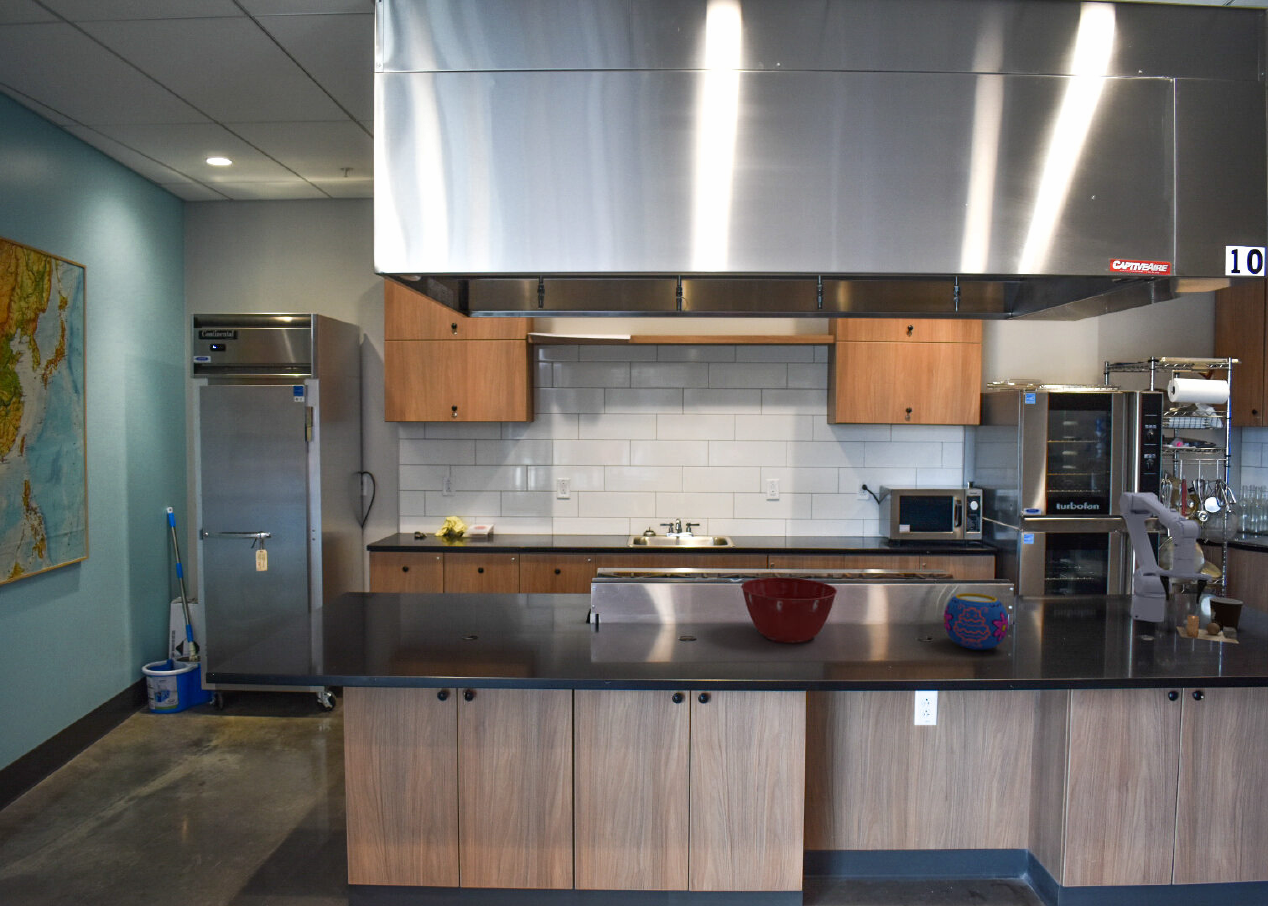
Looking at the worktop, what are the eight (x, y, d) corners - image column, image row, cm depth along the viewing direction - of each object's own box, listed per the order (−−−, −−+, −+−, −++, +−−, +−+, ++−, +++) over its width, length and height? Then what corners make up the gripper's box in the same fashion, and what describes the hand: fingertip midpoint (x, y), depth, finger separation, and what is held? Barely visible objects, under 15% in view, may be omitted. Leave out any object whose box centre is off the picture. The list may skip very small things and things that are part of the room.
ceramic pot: (1010, 645, 243) (1012, 595, 243) (1003, 660, 228) (1005, 607, 227) (948, 636, 252) (950, 588, 251) (937, 650, 237) (939, 599, 236)
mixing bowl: (837, 654, 232) (839, 600, 231) (736, 647, 238) (737, 594, 237) (833, 628, 260) (835, 580, 259) (743, 622, 265) (744, 575, 264)
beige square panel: (1180, 639, 251) (1181, 628, 251) (1176, 629, 264) (1176, 619, 263) (1238, 646, 245) (1239, 635, 244) (1231, 635, 257) (1231, 625, 256)
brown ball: (1206, 623, 253) (1220, 623, 252) (1204, 622, 257) (1218, 622, 255) (1208, 635, 253) (1222, 635, 251) (1205, 634, 256) (1219, 634, 255)
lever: (1183, 625, 263) (1184, 607, 263) (1195, 627, 261) (1196, 608, 261) (1186, 635, 251) (1187, 616, 251) (1199, 637, 249) (1200, 618, 249)
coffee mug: (1240, 636, 256) (1242, 605, 255) (1207, 632, 261) (1208, 601, 260) (1241, 629, 265) (1243, 598, 265) (1208, 624, 270) (1210, 594, 270)
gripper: (1156, 558, 257) (1154, 601, 258) (1212, 563, 249) (1211, 607, 250) (1156, 555, 263) (1155, 597, 264) (1212, 559, 255) (1210, 603, 256)
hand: (1182, 601), depth 257 cm, fingers open, 7 cm apart
